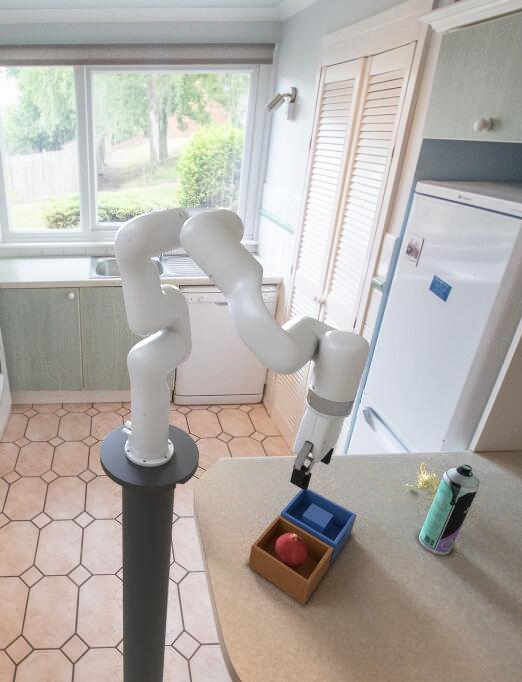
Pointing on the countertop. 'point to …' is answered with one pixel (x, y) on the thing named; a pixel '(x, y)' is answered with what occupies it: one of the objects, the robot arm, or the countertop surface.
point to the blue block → (317, 519)
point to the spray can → (449, 509)
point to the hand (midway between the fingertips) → (310, 472)
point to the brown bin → (287, 578)
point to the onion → (291, 550)
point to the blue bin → (341, 518)
